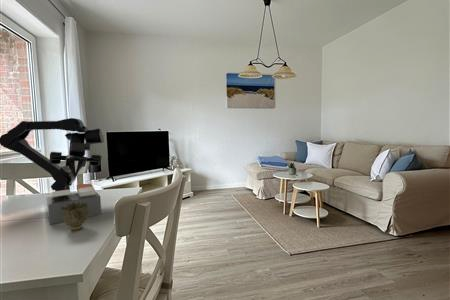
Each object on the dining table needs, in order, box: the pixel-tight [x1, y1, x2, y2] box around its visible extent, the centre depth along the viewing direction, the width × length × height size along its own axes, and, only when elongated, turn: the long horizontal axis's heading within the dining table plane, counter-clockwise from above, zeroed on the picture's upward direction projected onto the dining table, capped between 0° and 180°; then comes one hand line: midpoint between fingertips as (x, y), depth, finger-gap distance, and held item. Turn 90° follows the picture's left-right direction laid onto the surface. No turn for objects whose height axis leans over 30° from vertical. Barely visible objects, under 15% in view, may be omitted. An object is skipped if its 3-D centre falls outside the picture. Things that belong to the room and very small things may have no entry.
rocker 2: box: [76, 182, 96, 197], centre depth 94 cm, size 8×5×2 cm, turn 38°
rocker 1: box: [51, 189, 71, 197], centre depth 89 cm, size 8×5×2 cm, turn 38°
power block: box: [46, 190, 102, 225], centre depth 93 cm, size 12×16×7 cm
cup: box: [61, 202, 88, 232], centre depth 79 cm, size 8×7×8 cm
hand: (75, 176), depth 102 cm, fingers closed
